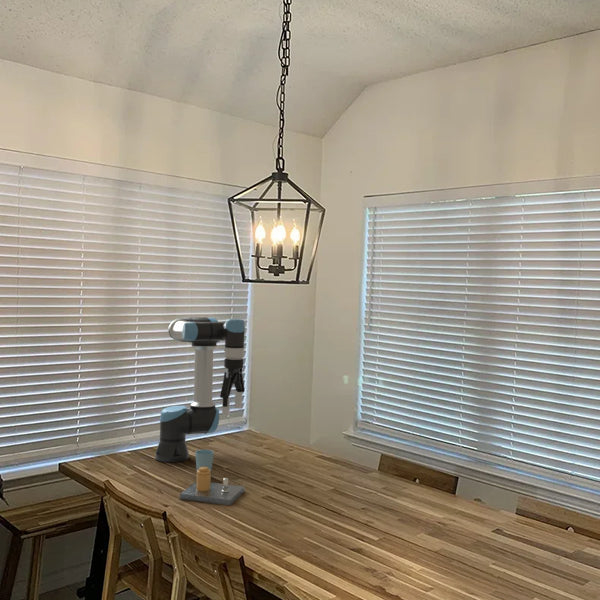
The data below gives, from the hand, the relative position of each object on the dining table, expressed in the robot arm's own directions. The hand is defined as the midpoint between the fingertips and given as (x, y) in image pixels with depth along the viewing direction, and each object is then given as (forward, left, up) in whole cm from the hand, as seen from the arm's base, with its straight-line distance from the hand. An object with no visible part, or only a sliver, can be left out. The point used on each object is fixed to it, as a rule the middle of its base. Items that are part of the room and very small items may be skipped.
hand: (232, 411), depth 249 cm
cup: (-9, -15, -31) cm, 35 cm away
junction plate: (+11, -3, -31) cm, 32 cm away
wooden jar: (+11, -7, -29) cm, 31 cm away
